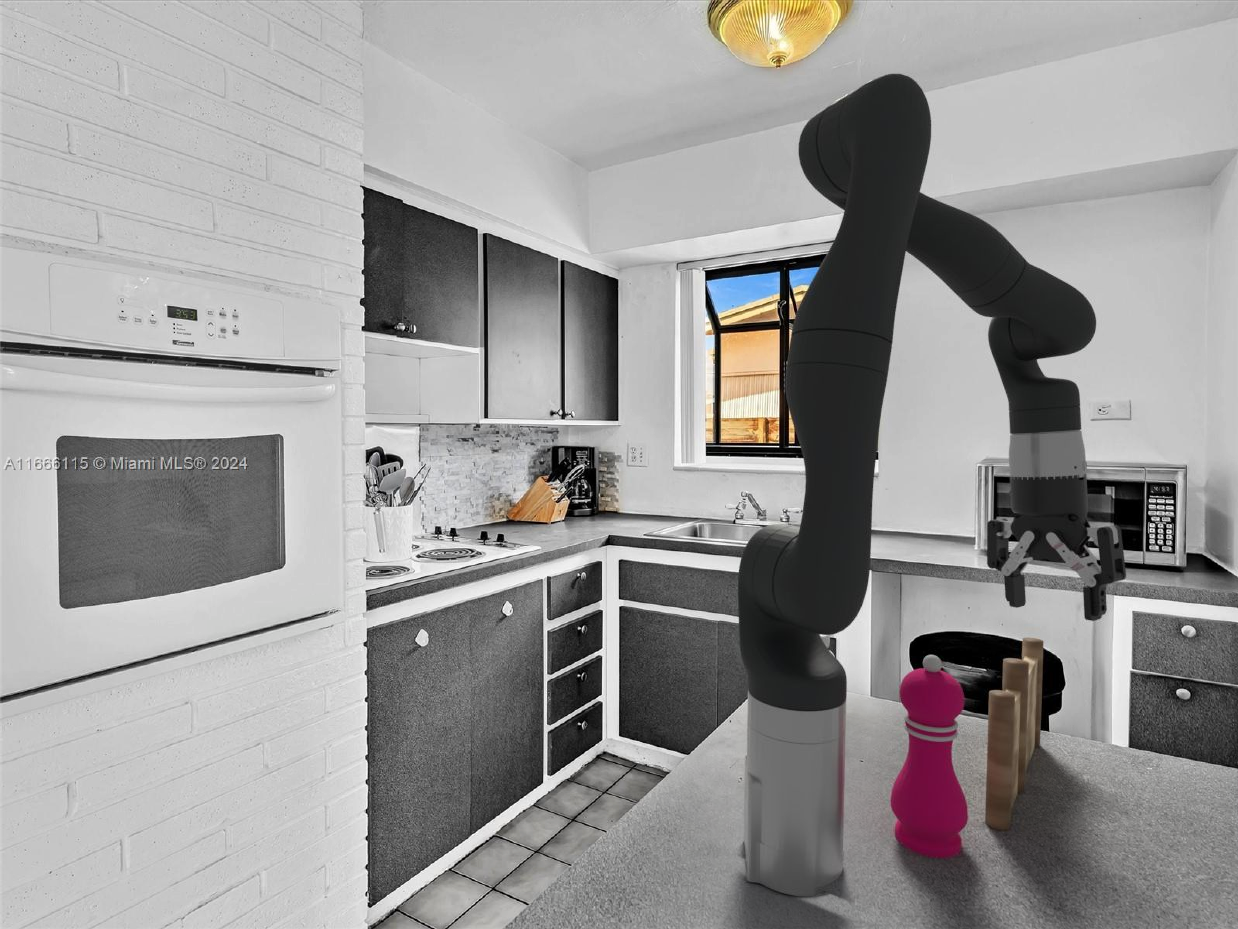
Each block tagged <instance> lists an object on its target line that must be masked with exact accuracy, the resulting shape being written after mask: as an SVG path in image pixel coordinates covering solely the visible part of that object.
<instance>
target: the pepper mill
mask: <svg viewBox="0 0 1238 929" xmlns="http://www.w3.org/2000/svg"><path fill="white" fill-rule="evenodd" d="M922 666H923V668H915V669H914V670H912V671H910V672H908V673H907V674H906V675H905V676H904V677H903V678H902V680H901V683H900V686H899V698H900V702H901V704H902V706H903V708H904V709H905V710H906V713H904V715H903V719H904V724H903V728H904V730H905V731H906V732H907V734H908V752H907V755H906V758H905V761H904V764H903V766H902V768H901V769H900V771H899V773H898V775H897V776H896V778H895V780H894V783H893V785H892V789H891V793H890V807H891V810H892V813H893V814H894V817H895V818H896V819H897V821H896V822H895V825H894V835H895V836H894V837H895V838H896V840H897V841H898V842H899V843H900V844H901V846H903V847H905V848H906V849H908V850H909V851H912V852H914V853H917V854H919V855H922V856H926V857H930V858H937V859H938V858H943V859H944V858H953V857H955V856H957V855H958V854H959V853H960V852H961V851H962V845H963V843H962V841H963V840H962V836H961V835H960V832H961V831H962V830H963V829H964V828H966V826H967V823H968V820H969V815H968V814H969V812H968V805H967V804H968V803H967V801H966V797H965V794H964V790H963V788H962V786H961V784H960V781H959V780H958V778H957V774H956V772H955V768H954V765H953V759H952V758H953V754H952V753H953V751H952V750H953V742H954V740H956V739H957V738H958V736H959V733H958V728H959V722H958V721H957V717H959V715H961V713H962V712H963V710H964V707H965V694H964V691H963V690H964V689H963V688H962V685H961V684H960V682H959V681H958V680H957V679H956V678H955V677H954V676H952V675H951V674H949V673H948V672H945V671H944V670H941V669H942V667H943V662H942V660H941V658H939V657H938V656H937V655H934V654H928V655H926V656H925V657H924V658H923V660H922Z"/></svg>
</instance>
